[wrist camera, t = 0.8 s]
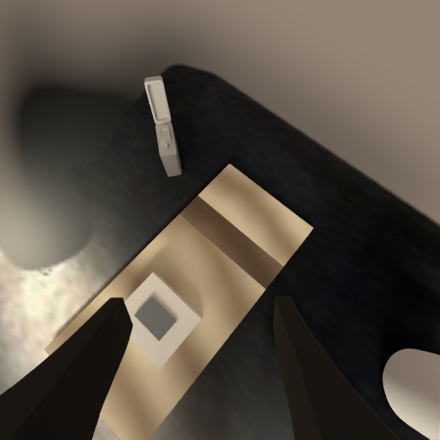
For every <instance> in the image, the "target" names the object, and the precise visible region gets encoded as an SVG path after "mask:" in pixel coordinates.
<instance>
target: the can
mask: <svg viewBox="0 0 440 440" xmlns="http://www.w3.org/2000/svg"><path fill="white" fill-rule="evenodd" d="M383 386H384V390H385V394H386V397H387V400H388V402H389V404H390V406H391V407H392V409H393V410H394V412H395V413H396V414H397V415H398V416H399V417H400V418H401V419H402V420H403V421H404V422H405V423H407V424H408V425H410V426H411V427H412V428H414V429H415V430H417V431H418V432H420V433H421V434H423V435H424V436H426V437H427V438H429V439H430V440H440V355H437V354H433V353H429V352H425V351H421V350H416V349H403V350H400V351H398V352H396V353H395V354H393V355H392V356H391V357H390V358H389V360H388V361H387V363H386V366H385V368H384V372H383Z"/></svg>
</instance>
